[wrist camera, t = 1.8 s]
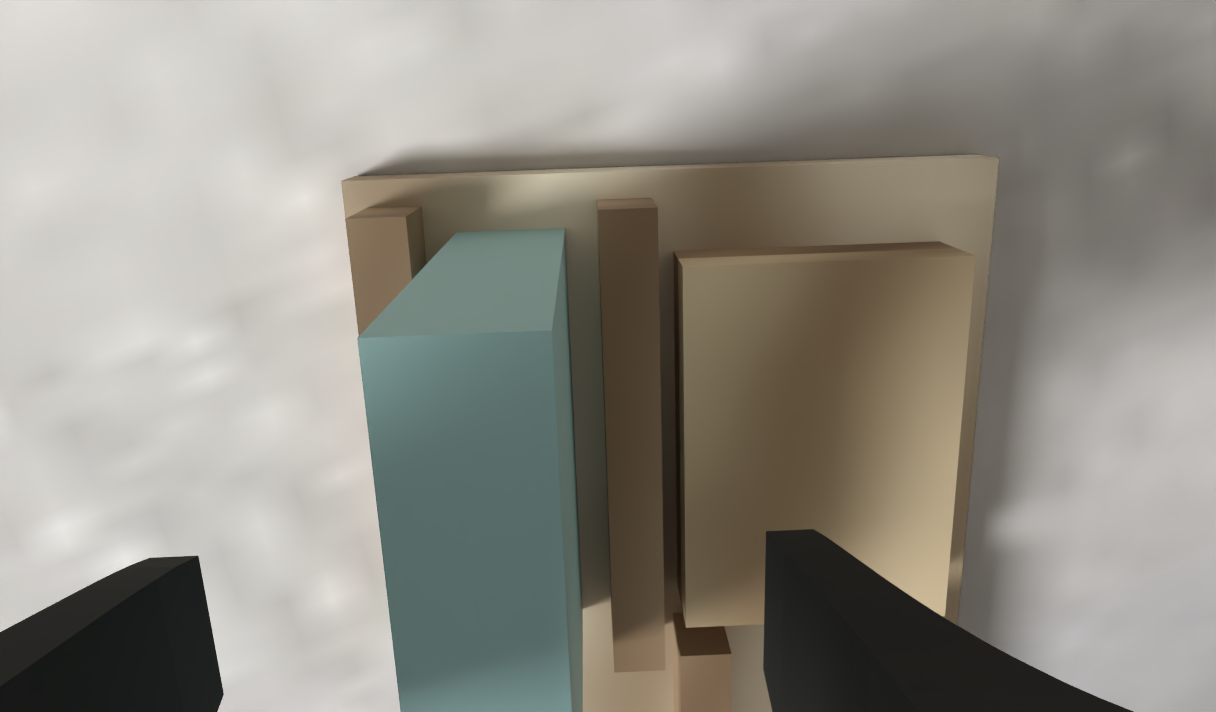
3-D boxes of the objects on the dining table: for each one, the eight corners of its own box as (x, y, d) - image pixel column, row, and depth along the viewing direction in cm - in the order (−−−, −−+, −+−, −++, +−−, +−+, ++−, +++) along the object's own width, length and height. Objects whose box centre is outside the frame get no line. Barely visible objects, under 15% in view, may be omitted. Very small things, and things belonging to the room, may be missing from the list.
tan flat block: (939, 240, 17) (956, 248, 16) (915, 573, 19) (929, 593, 18) (673, 250, 16) (677, 258, 16) (677, 583, 18) (681, 604, 18)
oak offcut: (956, 248, 16) (975, 256, 15) (929, 593, 18) (944, 616, 17) (677, 258, 16) (683, 266, 15) (681, 604, 18) (686, 628, 17)
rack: (975, 154, 17) (1039, 163, 15) (913, 919, 22) (952, 1017, 20) (354, 176, 17) (317, 189, 15) (440, 943, 22) (422, 1045, 20)
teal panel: (565, 228, 16) (551, 330, 9) (582, 608, 19) (583, 931, 11) (456, 232, 16) (357, 338, 9) (487, 613, 19) (427, 939, 11)
